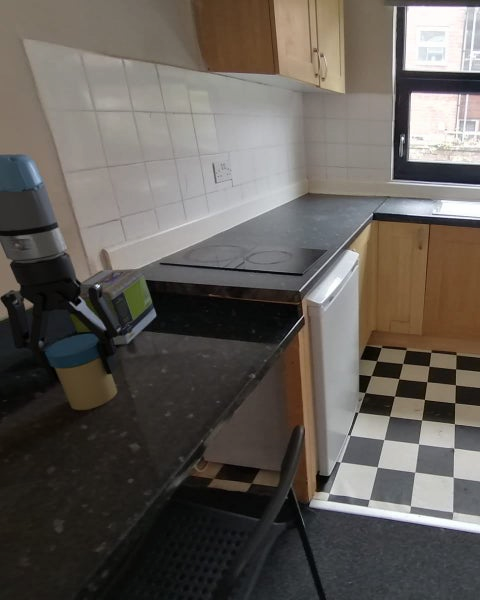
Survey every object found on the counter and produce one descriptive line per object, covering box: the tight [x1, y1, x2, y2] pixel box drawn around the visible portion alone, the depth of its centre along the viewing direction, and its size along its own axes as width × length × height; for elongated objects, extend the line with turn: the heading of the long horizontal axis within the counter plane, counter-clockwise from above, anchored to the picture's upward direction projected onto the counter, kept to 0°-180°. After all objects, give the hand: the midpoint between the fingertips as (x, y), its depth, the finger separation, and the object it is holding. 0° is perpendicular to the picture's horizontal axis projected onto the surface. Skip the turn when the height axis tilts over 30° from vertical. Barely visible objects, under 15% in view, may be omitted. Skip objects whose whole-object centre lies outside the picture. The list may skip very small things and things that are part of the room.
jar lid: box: [45, 334, 100, 368], centre depth 72 cm, size 8×8×2 cm
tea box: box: [69, 268, 157, 346], centre depth 96 cm, size 15×10×15 cm
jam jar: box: [54, 356, 118, 411], centre depth 74 cm, size 7×7×11 cm
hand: (85, 373), depth 74 cm, fingers closed on jar lid, 8 cm apart
